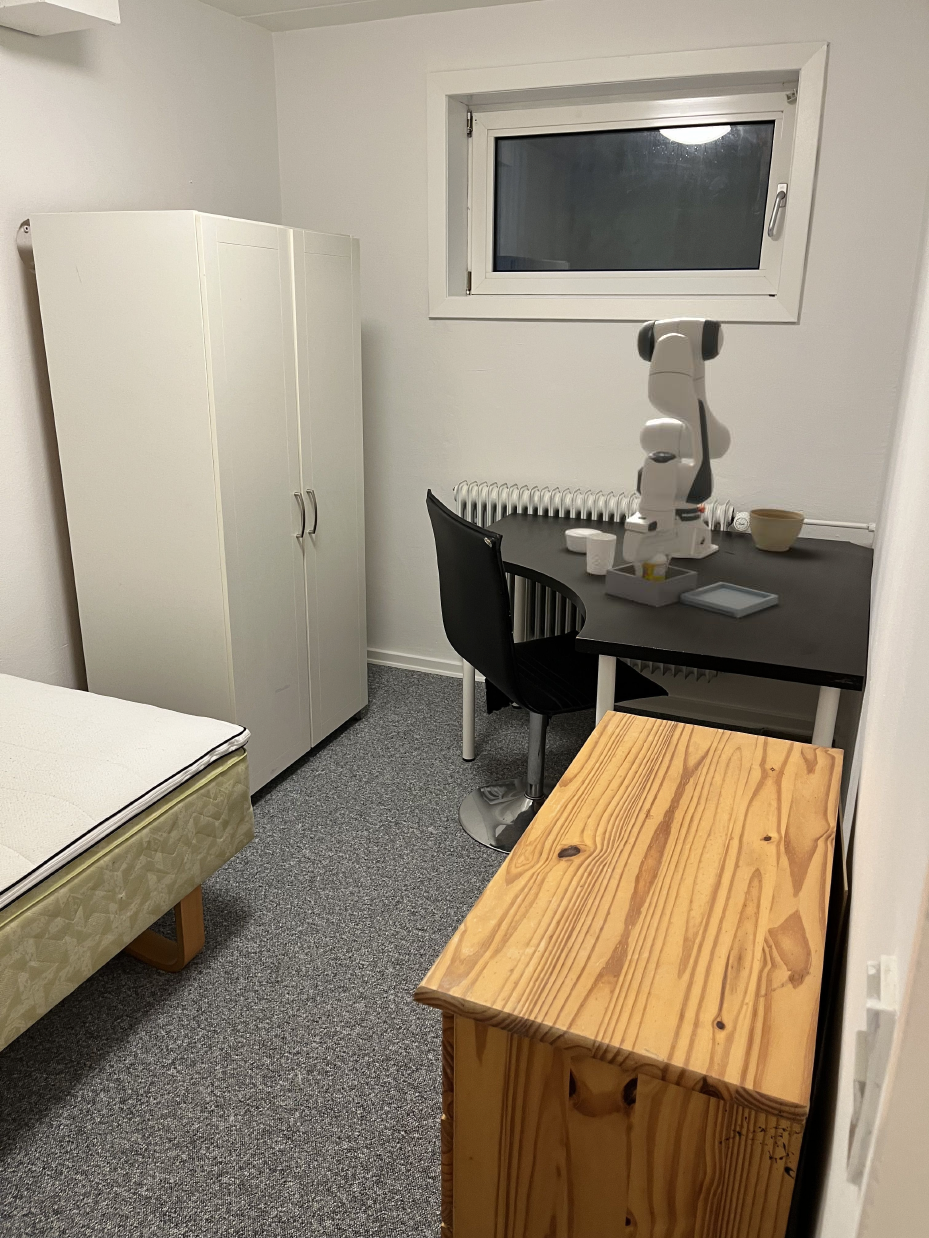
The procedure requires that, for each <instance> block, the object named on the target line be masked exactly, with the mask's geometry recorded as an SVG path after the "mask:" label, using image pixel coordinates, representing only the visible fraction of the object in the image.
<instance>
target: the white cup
mask: <svg viewBox="0 0 929 1238" xmlns="http://www.w3.org/2000/svg"><path fill="white" fill-rule="evenodd" d="M616 543H617V535H615V534H612V533H605V532H602V533H591V534H588V535H587V553H586V572H587V573H589V574H593V575H597V576H598V575H599V576H604V575H605V576H606V570H608V569H611V568H613V564H614V559H615V552H616V545H617V544H616Z"/></svg>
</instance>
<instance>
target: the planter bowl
mask: <svg viewBox="0 0 929 1238" xmlns="http://www.w3.org/2000/svg"><path fill="white" fill-rule="evenodd" d="M748 515H749V516H748V517H749V520H748V521H749V522H748V523H749V530H750V534H751V536H752V538H753V540H754V542H755V546H756V548H758V549H760V550H765V551H767V552H786V551H788V550H789V549H790V546H791V545H792V544H793V543H794V542H795V541H796V539H798V537H799V535H800V534H801V531H802V528H803V525H804V521H805V519H806V516H805V515H804V514H802V513H800V512H797V511H791V510H786V509H777V508H755V509H750V510H749V512H748Z"/></svg>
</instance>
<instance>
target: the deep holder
mask: <svg viewBox="0 0 929 1238" xmlns="http://www.w3.org/2000/svg"><path fill="white" fill-rule="evenodd" d="M635 575H636V570H635V567H634V565H633V562H630V563H627V564H624V565H619V566H616V567H612V568H611V569H608V570H606V575H605V584H604V585H605V587H604V594H608V595H612V596H615V597H619V598H622V599H625V598H626V599H627V600H629V601H632V600H634V601H633V602H636V601H637V603H640V604H643V603H644V604H643V605H647V604H648V605H647V606H650V605H652V606H651V607H654V606H655V608H660V607H663V606H665V605H667V606H668V605H669V604H673V603H675V602H676V603H677V602H680V598H681V594H684V593H687V592H690V591H693V590H697V582H698V581H697V579H698V572H697V571H693V570H689V569H685V568H681V567H676V566H672V565H669V564H668V568H667V571H665V580H663V581H659V582H657V581H653V580H649V579H646V578H642V577H638V576H635ZM626 599H625V600H626Z"/></svg>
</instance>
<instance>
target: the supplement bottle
mask: <svg viewBox="0 0 929 1238" xmlns="http://www.w3.org/2000/svg"><path fill="white" fill-rule="evenodd" d="M663 550H664V545H661V546H657V547H656V553H657V555H656V556H655V557H654V558H652V559H648V560H644V564H643V565H642V567H643V570H645V576H644V577H642V578H646V579H649V580H653V581H657V582H659V581H663V580H665V571H666V560H667V559H666V556H665V555H663V554H662V551H663Z"/></svg>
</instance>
